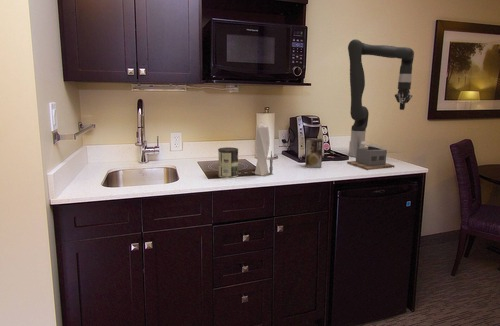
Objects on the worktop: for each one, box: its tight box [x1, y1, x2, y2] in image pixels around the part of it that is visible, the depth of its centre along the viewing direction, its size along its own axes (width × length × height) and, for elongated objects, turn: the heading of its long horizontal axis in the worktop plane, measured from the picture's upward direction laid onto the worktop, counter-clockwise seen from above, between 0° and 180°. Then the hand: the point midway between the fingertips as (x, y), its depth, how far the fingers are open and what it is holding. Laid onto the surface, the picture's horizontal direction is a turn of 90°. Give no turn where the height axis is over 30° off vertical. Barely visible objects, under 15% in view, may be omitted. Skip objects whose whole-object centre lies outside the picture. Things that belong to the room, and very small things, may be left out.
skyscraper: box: [254, 121, 274, 178], centre depth 191 cm, size 8×8×28 cm
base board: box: [346, 160, 396, 171], centre depth 218 cm, size 18×20×1 cm
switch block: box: [355, 146, 388, 166], centre depth 217 cm, size 12×12×10 cm
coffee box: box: [304, 137, 323, 168], centre depth 212 cm, size 9×6×16 cm
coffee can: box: [217, 146, 239, 179], centre depth 188 cm, size 10×10×14 cm
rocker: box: [361, 140, 384, 149], centre depth 216 cm, size 6×11×2 cm, turn 112°
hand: (401, 109), depth 231 cm, fingers closed
